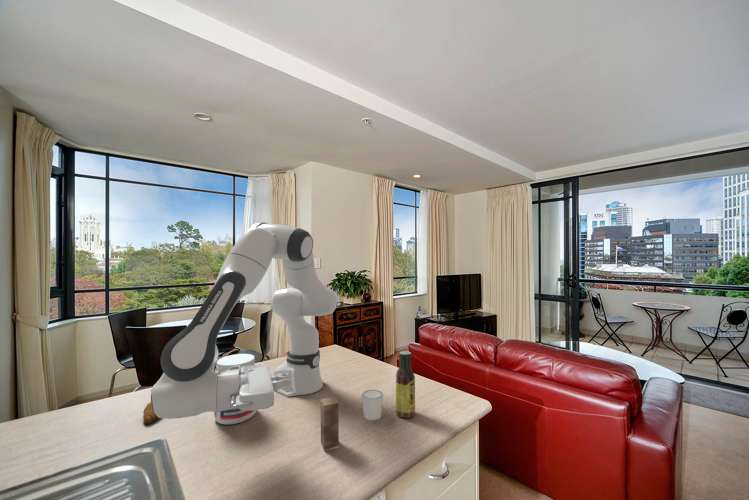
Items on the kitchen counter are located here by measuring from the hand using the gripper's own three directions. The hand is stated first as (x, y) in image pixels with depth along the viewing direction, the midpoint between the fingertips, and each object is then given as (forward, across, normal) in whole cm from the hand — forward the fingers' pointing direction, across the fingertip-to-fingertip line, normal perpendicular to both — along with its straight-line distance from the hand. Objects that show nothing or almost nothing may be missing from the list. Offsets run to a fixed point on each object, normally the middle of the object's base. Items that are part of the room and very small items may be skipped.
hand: (289, 380), depth 81 cm
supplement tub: (-13, +27, +19) cm, 36 cm away
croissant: (-38, +38, +19) cm, 57 cm away
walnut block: (+11, 0, +19) cm, 22 cm away
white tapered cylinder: (+27, +10, +19) cm, 35 cm away
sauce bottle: (+38, +7, +19) cm, 43 cm away
